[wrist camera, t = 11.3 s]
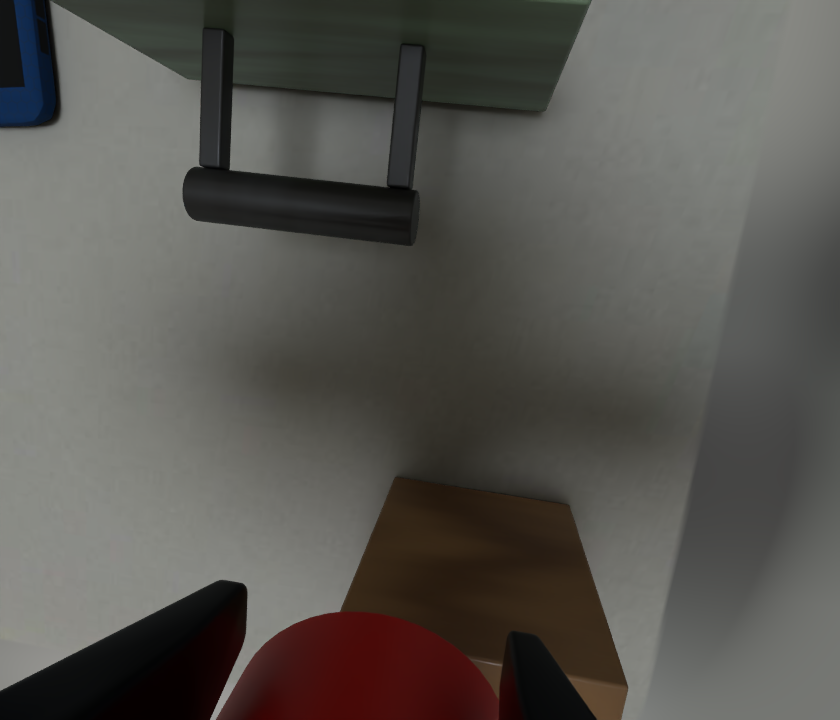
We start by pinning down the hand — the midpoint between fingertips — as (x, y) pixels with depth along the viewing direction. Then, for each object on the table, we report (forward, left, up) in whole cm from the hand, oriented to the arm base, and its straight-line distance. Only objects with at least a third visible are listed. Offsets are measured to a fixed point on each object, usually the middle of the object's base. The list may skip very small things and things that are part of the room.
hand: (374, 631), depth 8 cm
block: (-2, +7, -13) cm, 15 cm away
